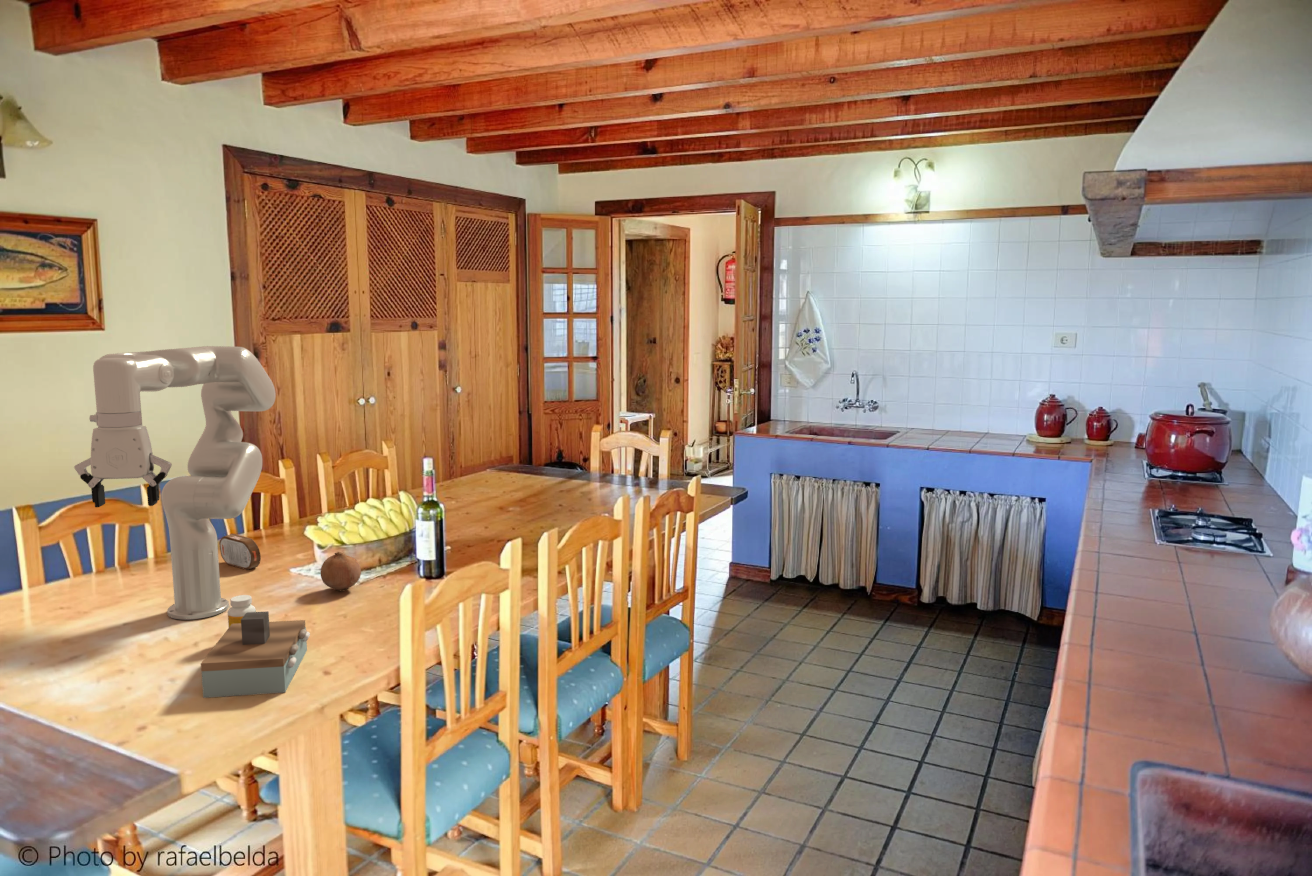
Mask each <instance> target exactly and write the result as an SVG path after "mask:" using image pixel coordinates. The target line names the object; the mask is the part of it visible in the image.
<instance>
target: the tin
mask: <svg viewBox="0 0 1312 876" xmlns="http://www.w3.org/2000/svg"><path fill="white" fill-rule="evenodd" d="M219 551H220V556H221V558H222V560H223V561H224V562H225V563H226V565H228V566H233V567H236V568H240V569H242V570H248V571H249V570H252V569H254V568H258V567H259V566H260V564H261V551H260V548H259V546H258V544H257V543H256V541H255V540H254V539H253V538H252V537H251V538H250V537H247V536H243V535H239V534H237V533H230V534H227V535H224V536H223V537H221V538H220V540H219Z"/></svg>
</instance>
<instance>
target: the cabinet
mask: <svg viewBox="0 0 1312 876" xmlns="http://www.w3.org/2000/svg"><path fill="white" fill-rule="evenodd" d="M305 630H306V631H307V627H306V626H305ZM310 636H311V633H310V631H307V633H306V635H305V637H304V638H303V639H299V640H298V641H297V643H296V644H297V645H298V647H299V648H298V650H297V652H296V654H295V655H290V656H289V658H288V660H287V661H286V663H285V665H284V666H283V667H266V668H250V669H233V670H217V671H201V685H202V696H203V697H202V698H203V699H204V698H218V697H219V698H221V697H235V696H236V697H237V696H249V695H250V696H251V695H265V694H266V695H267V694H281V693H286V691H287V690H288V688H289V686H290V685H291V682H292V680H293V678H294V677H295V674H296V673H297V671H298V669H299V667H300V665H301V663H302V661H303V659H304V657H305V655H306V653H307V651H308V645H307V644H308V640H309V638H310Z"/></svg>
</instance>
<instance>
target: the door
mask: <svg viewBox="0 0 1312 876" xmlns="http://www.w3.org/2000/svg"><path fill="white" fill-rule="evenodd" d="M269 615H270V614H269V611H256V612H246V614H245V615H244V616H243V618H242V619H241V623H237V624H231V626H230V627H229V626H228V628H227V629H226V631H225V632H224V633H223V635H222V636H221V637H220V638H219V640H218V641H217V642H216V644H215V645H213V647H212V649H211V650H210V651H209V652H208V653H207V655H206V656H205V658H204V659H203V660H202V661H201V663H200V670H201V672H202V671H217V670H233V669H250V668H266V667H283V666H284V665H285V663H286V661H287V660H288V658H289V656H290V655H295V654H296V652H297V650H298V648H299V647H298V645H297V644H296V643H297V641H298V640H299V639H303V638H304V637H305V635H306V633H307V632H308V631H307V629H306V630H305V627H306V619H302V620H301V619H300V620H296V619H295V620H281V621H270V616H269Z"/></svg>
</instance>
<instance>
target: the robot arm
mask: <svg viewBox="0 0 1312 876" xmlns="http://www.w3.org/2000/svg"><path fill="white" fill-rule="evenodd" d="M92 369H93V383H94V384H93V386H94V396H95V404H96V407H95V409H96V412H95V414H90V415H89V422H91V423H95V424H96V426H97V427H94V428H93V429H92V433H91V444H90V457H89V458H87V459H85V460H83V461H81V462H79V463H77V464H75V465H74V467H73V468H74V470H75V472H76V473H77V474H78V476H79V479H81V480H82V481H83V482H84V483H85V484H87V486H88V487H89V489H91V490H90V491H91V499H92V501H91V502H92V503H94V507H95V508H100V507H102V506H104V505H105V504H106V495H105V485H104V484H102V483H103V481H104V480H120V479H121V480H125V479H126V480H127V479H140V478H142V479H143V480H144V481H145V482H146V483H147V484H148V486H147V487H146V494H147V495H146V496H147V505H148V506H149V507H153V506H155V505H156V504H158V501H159V500H160V486H159V484H160V483H161V482H162V481H163V480H164V479H165V478H166V477H167V476H168V473H170V470H171V469H172V466H173V464H172V462H170V461H169V460H166V459H163V458H161V457H159V456H156V455H155V454H153V447H152V443H151V442H152V441H151V438H150V435H149V431H148V429H147V426H146V425H143V417H142V414H143V413H142V404H141V393H142V392H147V393H149V392H150V393H151V392H152V393H153V392H155V393H156V392H161V391H164V390H165V389H167V388H186V387H187V388H188V387H191V386H197V385H202V387H201V392H200V399H201V404H202V408H203V414H204V418H205V427H204V429H203V432H202V434H201V436H200V437H199V439H198V440H197V443H196V445H195V446H194V448H193V450H192V451H191V454H190V455H189V458H188V460H187V461H188V462H187V472H188V473H189V475H182V476H177V477H174V478H172V479H170V480H168V481H167V482H166V483H165V485H164V486H163V488H162V491H161V503H162V508H163V511H164V514H165V517H166V522H167V526H168V533H169V543H170V544H169V546H170V557H171V559H170V560H171V570H172V571H171V572H172V585H173V599H174V604H172V605H170V606H169V607H168V608H167V610H166V611H167V616H168V617H169V618H172V619H175V620H181V621H182V620H183V621H185V620H186V621H187V620H189V621H190V620H198V619H199V620H200V619H206V618H208V617H209V618H210V617H213V616H216V615H219V614H221V613H224V612H225V611H226V610H227V611H228V610H229V607H230V605H229V604H230V603H229V601H228V600H227V599H225V598H223V597H222V595H221V592H222V591H221V579H220V578H221V577H220V562H219V548H218V547H219V545H218V535H217V531H216V529H215V527H214V526H213V524H212V522H211V521H210V520H213V519H214V520H230V519H235V518H237V517H238V516H240V515H241V514H242V513H243V511H244V510H245V509H246V507H247V504H248V503H249V500H250V498H251V496H252V494H253V492H254V489H255V488H256V486H257V484H258V480H259V479H260V476H261V473H262V471H263V455H262V452H261V450H260V448H259V447H258V446H257V445H255V444H254V443H251V442H246V441H242V440H243V438H244V432H243V430H242V429H243V428H241V425H240V424H239V422H238V420H236V418H235V417H234V415H233V413H232V412H265V411H268V410H270V409H271V408H272V407H273V405H275V401H276V388H275V385H274V383H273V381H272V379H271V378H270V375H268V373H267V372H266V369H264V367H263V365H262V364H261V362H260V361H259V359H258V358H257V357H256V356H255V354H253V352H251V351H250V350H249V349H247V348H246V347H244V346H224V345H223V346H222V345H221V346H218V345H211V346H210V345H206V346H205V345H204V346H193V347H182V348H168V349H157V350H148V351H132V352H129V351H128V352H117V353H109V354H104V355H102V356H101V357H99V359H96V360H95V361H94V363H93V366H92ZM155 465H156V466H159V467H160V471H159V473H158V474H156V473H155V472H154V470H155V469H154V468H155ZM89 466H90V472H88V470H87V467H89Z"/></svg>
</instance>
